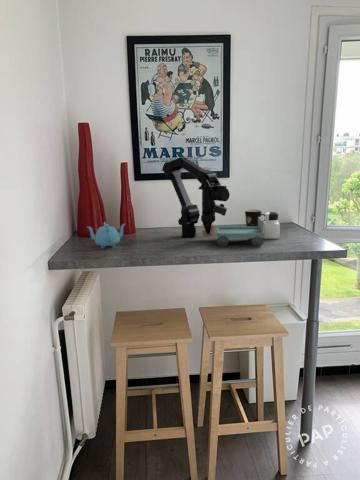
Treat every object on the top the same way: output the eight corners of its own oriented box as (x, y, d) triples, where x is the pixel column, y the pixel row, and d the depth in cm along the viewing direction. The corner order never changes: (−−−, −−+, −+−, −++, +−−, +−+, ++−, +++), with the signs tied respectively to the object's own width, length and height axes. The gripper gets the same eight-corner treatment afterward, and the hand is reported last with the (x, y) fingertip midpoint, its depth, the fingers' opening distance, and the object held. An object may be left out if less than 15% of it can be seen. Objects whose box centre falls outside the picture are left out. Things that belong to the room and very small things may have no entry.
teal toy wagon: (217, 246, 158) (217, 222, 156) (216, 239, 172) (216, 216, 169) (263, 246, 156) (264, 222, 154) (259, 238, 170) (259, 216, 167)
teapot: (108, 251, 156) (107, 228, 153) (86, 247, 162) (84, 225, 160) (127, 244, 167) (126, 222, 164) (106, 241, 173) (104, 220, 171)
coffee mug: (241, 228, 194) (242, 209, 192) (255, 226, 197) (256, 208, 194) (252, 232, 184) (252, 213, 181) (266, 230, 186) (267, 211, 184)
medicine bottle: (277, 235, 176) (278, 211, 174) (279, 238, 170) (280, 213, 167) (262, 235, 177) (263, 211, 174) (264, 238, 170) (264, 213, 167)
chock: (202, 236, 166) (201, 226, 165) (202, 234, 171) (202, 223, 170) (214, 236, 166) (214, 225, 165) (214, 234, 171) (214, 223, 169)
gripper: (226, 202, 155) (226, 237, 159) (225, 196, 173) (225, 228, 177) (201, 202, 156) (201, 237, 160) (202, 197, 174) (202, 228, 178)
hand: (208, 232), depth 168 cm, fingers closed on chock, 5 cm apart
